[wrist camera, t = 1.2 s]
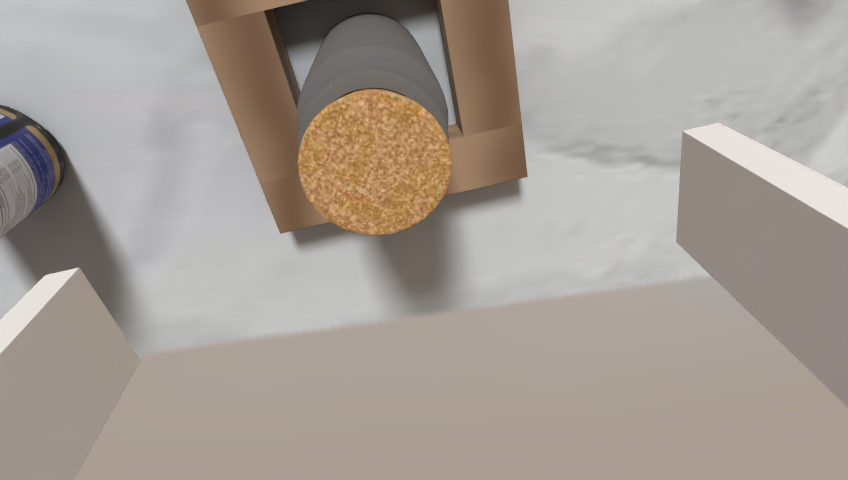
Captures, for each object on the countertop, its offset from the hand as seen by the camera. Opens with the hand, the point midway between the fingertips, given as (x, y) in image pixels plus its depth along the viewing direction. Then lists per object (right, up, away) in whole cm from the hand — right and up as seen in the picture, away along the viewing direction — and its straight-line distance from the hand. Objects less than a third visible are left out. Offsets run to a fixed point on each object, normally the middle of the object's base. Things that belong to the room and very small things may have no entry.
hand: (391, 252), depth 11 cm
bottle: (-2, +10, +17) cm, 20 cm away
